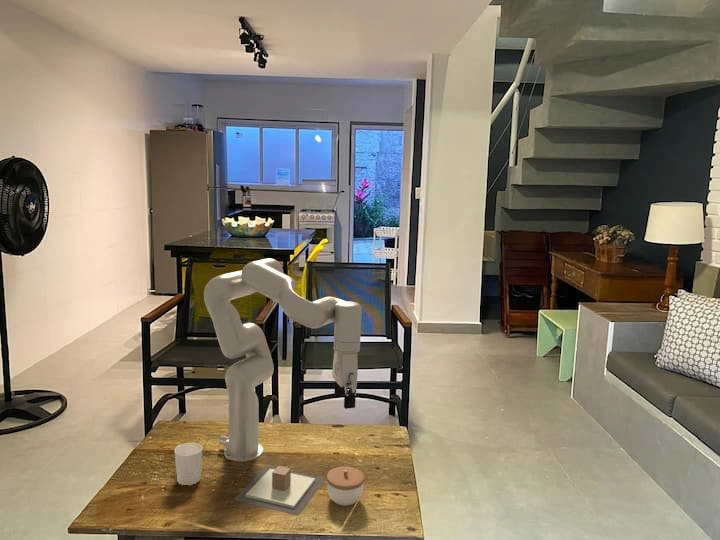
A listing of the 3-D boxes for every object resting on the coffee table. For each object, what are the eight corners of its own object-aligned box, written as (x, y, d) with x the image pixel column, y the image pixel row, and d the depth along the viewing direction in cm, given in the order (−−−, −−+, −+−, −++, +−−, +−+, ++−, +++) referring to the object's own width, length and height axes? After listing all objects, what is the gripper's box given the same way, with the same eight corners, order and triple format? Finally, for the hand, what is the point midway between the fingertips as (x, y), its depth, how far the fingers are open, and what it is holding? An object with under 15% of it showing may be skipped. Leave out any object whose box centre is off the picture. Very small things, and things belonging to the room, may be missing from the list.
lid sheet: (245, 496, 161) (245, 478, 160) (270, 471, 175) (270, 453, 174) (293, 508, 156) (294, 489, 155) (315, 480, 170) (315, 463, 169)
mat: (233, 501, 159) (233, 499, 159) (266, 467, 178) (266, 465, 178) (298, 517, 153) (298, 515, 153) (325, 480, 172) (325, 478, 172)
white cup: (208, 477, 171) (207, 446, 170) (190, 489, 164) (189, 458, 162) (188, 470, 175) (187, 440, 173) (169, 482, 167) (168, 451, 166)
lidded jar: (359, 514, 155) (360, 483, 154) (321, 508, 158) (322, 477, 156) (366, 493, 166) (367, 463, 164) (331, 487, 168) (332, 458, 166)
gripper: (326, 336, 169) (324, 390, 172) (343, 355, 153) (340, 414, 156) (350, 335, 171) (348, 388, 174) (369, 353, 155) (366, 412, 158)
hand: (344, 400), depth 165 cm, fingers open, 9 cm apart
